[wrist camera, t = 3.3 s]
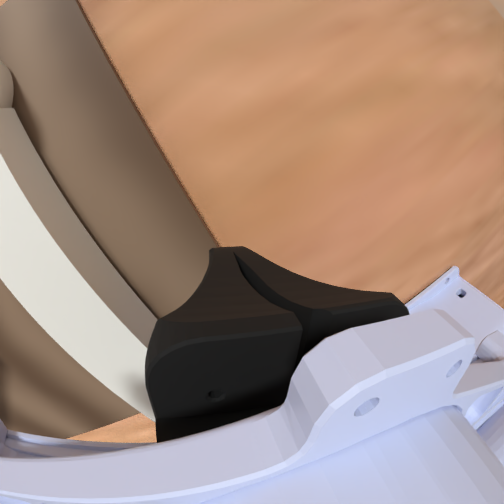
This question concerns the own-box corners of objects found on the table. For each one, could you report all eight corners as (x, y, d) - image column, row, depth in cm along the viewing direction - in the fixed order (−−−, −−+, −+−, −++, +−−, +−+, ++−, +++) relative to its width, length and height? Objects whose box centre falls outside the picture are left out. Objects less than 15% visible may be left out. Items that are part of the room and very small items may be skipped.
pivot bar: (-59, 105, 6) (-92, 110, 3) (-3, 40, 6) (-34, 30, 3) (146, 388, 14) (146, 424, 12) (206, 359, 14) (214, 396, 12)
